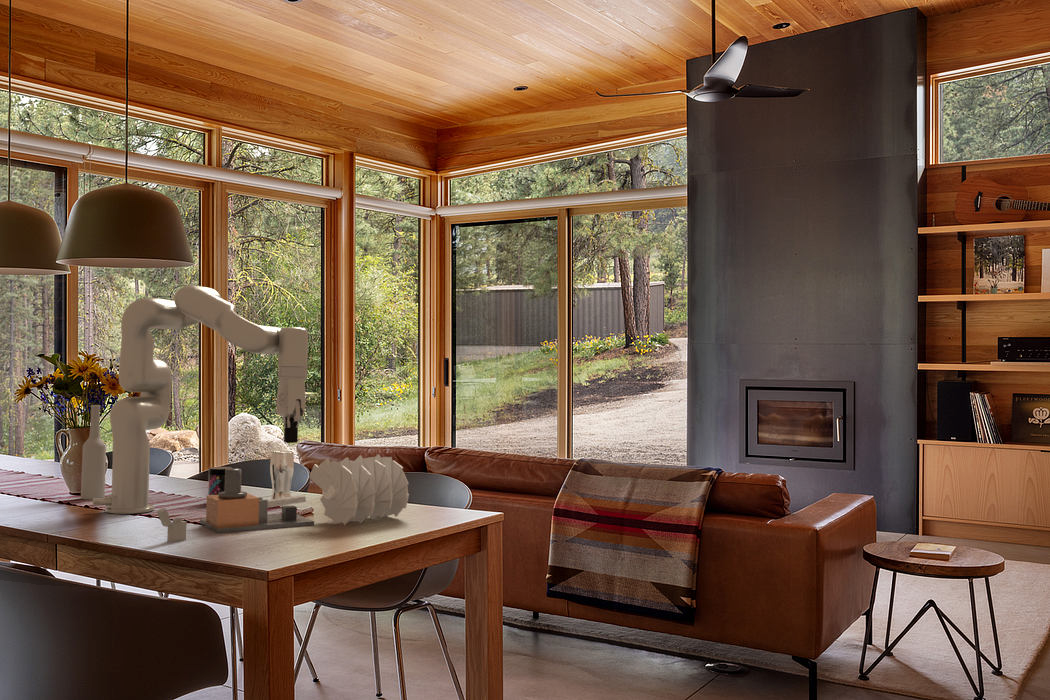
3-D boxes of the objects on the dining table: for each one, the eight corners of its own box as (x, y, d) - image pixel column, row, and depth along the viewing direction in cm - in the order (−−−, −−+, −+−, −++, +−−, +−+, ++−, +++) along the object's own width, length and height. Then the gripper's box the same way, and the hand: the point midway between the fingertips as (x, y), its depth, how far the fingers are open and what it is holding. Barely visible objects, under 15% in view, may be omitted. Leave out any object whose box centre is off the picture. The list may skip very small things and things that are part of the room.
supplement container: (208, 501, 279) (209, 466, 279) (232, 501, 280) (233, 466, 281) (206, 504, 272) (207, 469, 272) (230, 504, 274) (231, 469, 274)
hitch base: (216, 533, 228) (217, 502, 228) (199, 523, 241) (200, 494, 241) (314, 525, 241) (315, 496, 242) (293, 516, 255) (294, 488, 255)
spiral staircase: (404, 532, 257) (335, 539, 237) (366, 498, 267) (297, 503, 247) (429, 474, 253) (361, 477, 233) (389, 443, 263) (321, 443, 243)
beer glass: (267, 500, 283) (268, 451, 283) (290, 499, 286) (291, 450, 286) (271, 503, 277) (272, 453, 277) (294, 502, 280) (296, 452, 280)
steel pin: (222, 523, 233) (223, 471, 233) (214, 519, 239) (215, 468, 239) (249, 521, 237) (251, 470, 237) (241, 517, 243) (243, 467, 243)
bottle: (95, 500, 276) (98, 406, 277) (75, 499, 278) (78, 405, 278) (109, 497, 283) (112, 405, 283) (90, 496, 284) (93, 404, 285)
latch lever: (261, 508, 241) (260, 502, 241) (258, 506, 243) (258, 501, 243) (305, 501, 247) (305, 496, 247) (302, 500, 249) (302, 495, 249)
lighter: (181, 538, 220) (182, 504, 220) (186, 539, 219) (187, 505, 219) (155, 543, 214) (156, 508, 214) (160, 544, 213) (161, 509, 213)
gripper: (269, 372, 251) (267, 440, 251) (288, 374, 238) (286, 445, 238) (296, 373, 255) (294, 440, 255) (316, 374, 242) (314, 444, 242)
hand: (290, 442), depth 246 cm, fingers closed
